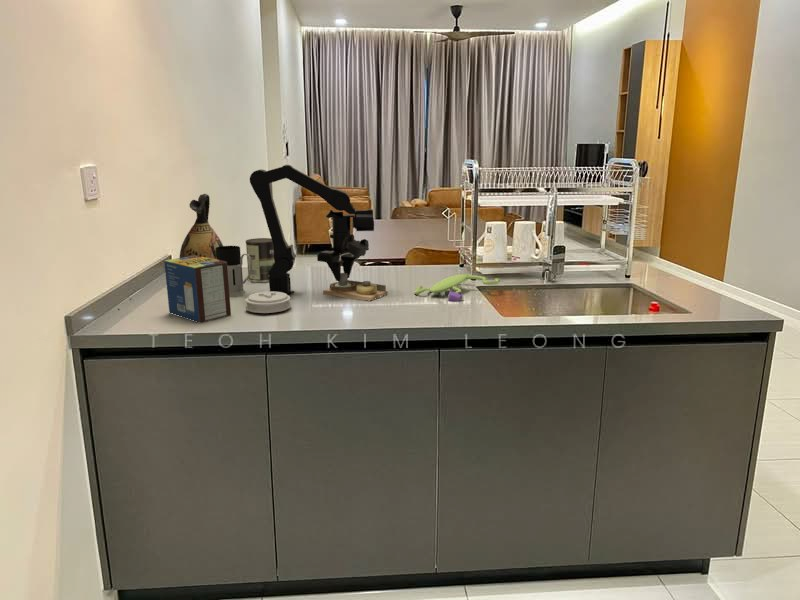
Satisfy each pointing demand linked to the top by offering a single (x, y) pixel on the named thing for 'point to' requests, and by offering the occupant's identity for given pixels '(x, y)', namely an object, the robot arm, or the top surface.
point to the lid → (268, 302)
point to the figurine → (453, 286)
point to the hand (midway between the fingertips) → (342, 279)
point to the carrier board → (357, 290)
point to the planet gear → (343, 281)
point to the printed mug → (260, 258)
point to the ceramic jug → (201, 232)
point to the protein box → (198, 288)
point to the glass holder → (233, 268)
